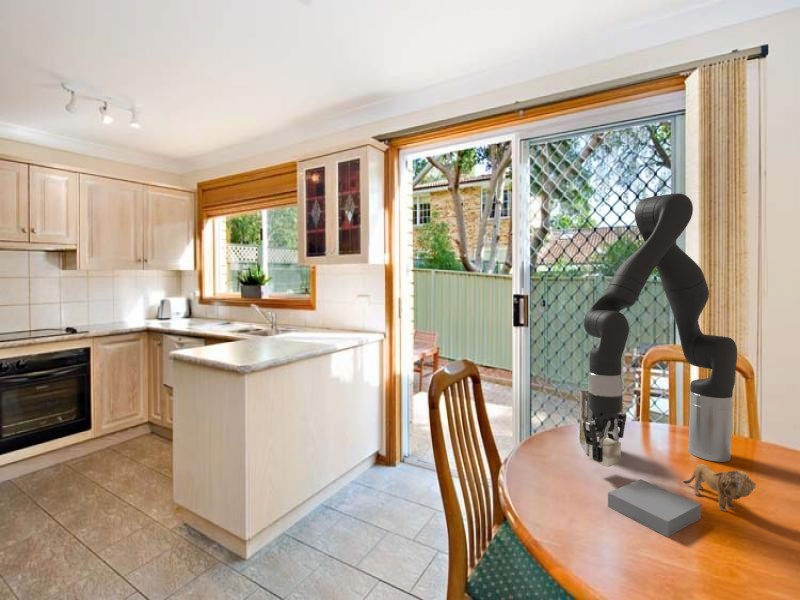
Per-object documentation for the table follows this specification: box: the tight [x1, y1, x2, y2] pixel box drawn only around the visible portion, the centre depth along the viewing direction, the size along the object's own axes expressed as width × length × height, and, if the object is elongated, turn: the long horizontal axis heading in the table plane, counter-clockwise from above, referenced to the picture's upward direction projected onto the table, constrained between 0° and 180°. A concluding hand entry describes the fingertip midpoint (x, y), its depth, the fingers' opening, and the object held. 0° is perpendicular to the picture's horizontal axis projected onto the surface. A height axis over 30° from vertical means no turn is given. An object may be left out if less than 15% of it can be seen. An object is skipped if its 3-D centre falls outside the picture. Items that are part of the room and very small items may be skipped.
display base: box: [607, 478, 702, 538], centre depth 84 cm, size 12×12×3 cm
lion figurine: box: [683, 463, 757, 513], centre depth 88 cm, size 15×5×9 cm, turn 14°
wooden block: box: [588, 437, 622, 468], centre depth 100 cm, size 5×5×5 cm
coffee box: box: [579, 390, 602, 456], centre depth 115 cm, size 9×6×16 cm
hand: (604, 457), depth 100 cm, fingers closed on wooden block, 5 cm apart
